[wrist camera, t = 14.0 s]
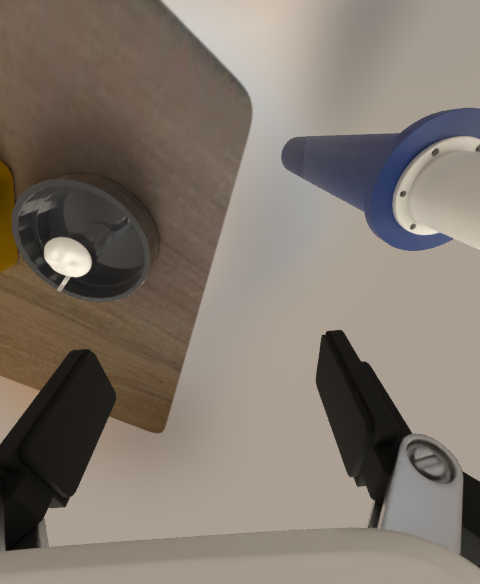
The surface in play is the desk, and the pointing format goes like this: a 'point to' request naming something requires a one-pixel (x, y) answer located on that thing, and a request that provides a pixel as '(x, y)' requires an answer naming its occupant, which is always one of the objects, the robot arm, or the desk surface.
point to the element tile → (6, 219)
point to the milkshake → (78, 250)
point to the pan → (78, 213)
